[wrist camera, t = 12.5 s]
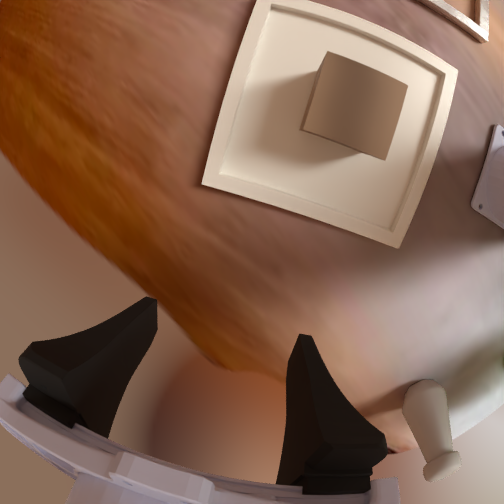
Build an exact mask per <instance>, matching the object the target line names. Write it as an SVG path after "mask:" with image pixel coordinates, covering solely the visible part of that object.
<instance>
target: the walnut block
mask: <svg viewBox="0 0 504 504" xmlns="http://www.w3.org/2000/svg"><path fill="white" fill-rule="evenodd" d="M407 88H408V85H407V84H405V83H403V82H401V81H399V80H397V79H395V78H393V77H391V76H389V75H386V74H384V73H382V72H380V71H378V70H375V69H373V68H371V67H369V66H366V65H364V64H361V63H359V62H357V61H354V60H351V59H349V58H346V57H344V56H341V55H338V54H335V53H332V52H330V51H327V53H326V55H325V57H324V59H323V61H322V63H321V65H320V66H319V68H318V70H317V74H316V77H315V80H314V83H313V87H312V90H311V93H310V96H309V100H308V103H307V106H306V109H305V113H304V116H303V119H302V122H301V125H300V129H299V130H300V131H303V132H306V133H309V134H312V135H315V136H318V137H321V138H324V139H327V140H330V141H332V142H335V143H338V144H340V145H343V146H346V147H348V148H351V149H353V150H356V151H358V152H361V153H364V154H367V155H370V156H372V157H375V158H378V159H381V160H384V161H385V160H386V157H387V155H388V152H389V149H390V146H391V143H392V139H393V136H394V133H395V130H396V127H397V124H398V120H399V117H400V113H401V110H402V107H403V103H404V99H405V96H406V92H407Z"/></svg>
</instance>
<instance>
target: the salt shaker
mask: <svg viewBox="0 0 504 504" xmlns="http://www.w3.org/2000/svg"><path fill="white" fill-rule="evenodd" d="M402 413H403V415H404V417H405V419H406V421H407V423H408V425H409V427H410V429H411V431H412V433H413V435H414V437H415V439H416V441H417V443H418V445H419V447H420V449H421V452H422V454H423V456H424V458H425V460H426V462H427V464H426V465H425V466H424V468H423V475H424V478H425V480H426V481H429V482H435V481H439V480H442V479H444V478H446V477H448V476H450V475H452V474H453V473H455V472H456V471H457V470H458V469H459V468H460V466H461V457H460V454H459V452H458V451H453V447H452V437H451V428H450V420H449V411H448V404H447V397H446V393H445V390H444V389H443V387H442V386H440V385H439V384H438V383H437V382H435V381H434V380H425V379H423V380H421V381H419V382H417V383H416V384H414V385H412V386H410V387H409V389H408V391H407V393H406V394H405V397H404V403H403V408H402Z"/></svg>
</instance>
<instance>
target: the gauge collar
mask: <svg viewBox="0 0 504 504" xmlns="http://www.w3.org/2000/svg"><path fill="white" fill-rule="evenodd" d="M417 1H419V2H421V3H422V4H424V5H426V6H428V7H429V8H431V9H433V10H434V11H436V12H438V13H439V14H441V15H443V16H444V17H446V18H447V19H449V20H450V21H452V22H453V23H455V24H456V25H458V26H459V27H461V28H462V29H463V30H465V31H466V32H468V33H469V34H470V35H472V36H473V37H474V38H476V39H477V40H478V41H479V42H481V43H485V42H488V33H489V0H475V22H473V21H472V20H471V19H469V18H468V17H467V16H465V15H464V14H462V13H461V12H459V11H458V10H457V9H455V8H454V7H452V6H451V5H449V4H447V3H446V2H444V1H443V0H417Z"/></svg>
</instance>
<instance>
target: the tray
mask: <svg viewBox="0 0 504 504" xmlns="http://www.w3.org/2000/svg"><path fill="white" fill-rule="evenodd" d="M327 51H330V52H332V53H335V54H338V55H341V56H344V57H346V58H349V59H351V60H354V61H357V62H359V63H361V64H364V65H366V66H369V67H371V68H373V69H375V70H378V71H380V72H382V73H384V74H386V75H389V76H391V77H393V78H395V79H397V80H399V81H401V82H403V83H405V84H407V85H408V88H407V92H406V96H405V99H404V103H403V107H402V110H401V113H400V117H399V120H398V124H397V127H396V130H395V133H394V136H393V139H392V143H391V146H390V149H389V152H388V155H387V157H386V160H385V161H384V160H381V159H378V158H375V157H372V156H370V155H367V154H364V153H361V152H358V151H356V150H353V149H351V148H348V147H346V146H343V145H340V144H338V143H335V142H332V141H330V140H327V139H324V138H321V137H318V136H315V135H312V134H309V133H306V132H303V131H300V130H299V129H300V125H301V122H302V119H303V116H304V113H305V109H306V106H307V103H308V100H309V96H310V93H311V90H312V87H313V83H314V80H315V77H316V74H317V70H318V68H319V66H320V65H321V63H322V61H323V59H324V57H325V55H326V53H327ZM457 74H458V70H457V69H455V68H454V67H452V66H451V65H449V64H448V63H446V62H445V61H443V60H442V59H440V58H439V57H437V56H435V55H434V54H432V53H431V52H429V51H427V50H425V49H424V48H422V47H420V46H418V45H417V44H415V43H413V42H411V41H409V40H407V39H405V38H404V37H402V36H400V35H398V34H396V33H394V32H391V31H389V30H387V29H385V28H383V27H381V26H378V25H376V24H374V23H372V22H369V21H367V20H364V19H362V18H359V17H357V16H354V15H351V14H349V13H346V12H343V11H340V10H337V9H334V8H331V7H328V6H325V5H322V4H318V3H315V2H311V1H307V0H257V1H256V4H255V6H254V9H253V12H252V15H251V17H250V20H249V23H248V26H247V28H246V31H245V34H244V37H243V40H242V43H241V46H240V49H239V52H238V55H237V58H236V61H235V64H234V67H233V70H232V73H231V77H230V80H229V83H228V86H227V90H226V93H225V96H224V100H223V103H222V107H221V110H220V114H219V117H218V121H217V125H216V128H215V132H214V136H213V140H212V144H211V147H210V151H209V155H208V159H207V163H206V167H205V172H204V176H203V180H202V185H206V186H210V187H213V188H217V189H220V190H224V191H227V192H231V193H234V194H237V195H241V196H244V197H248V198H251V199H254V200H257V201H261V202H264V203H267V204H270V205H274V206H277V207H280V208H283V209H286V210H289V211H292V212H295V213H299V214H302V215H305V216H308V217H311V218H314V219H317V220H319V221H322V222H325V223H328V224H331V225H334V226H337V227H340V228H343V229H345V230H348V231H351V232H354V233H357V234H359V235H362V236H365V237H368V238H370V239H373V240H376V241H378V242H381V243H384V244H386V245H389V246H392V247H394V248H397V249H399V247H400V245H401V243H402V241H403V238H404V236H405V234H406V232H407V230H408V227H409V225H410V223H411V221H412V218H413V216H414V214H415V211H416V209H417V206H418V204H419V201H420V199H421V196H422V194H423V191H424V189H425V186H426V183H427V181H428V178H429V175H430V172H431V170H432V167H433V164H434V161H435V158H436V155H437V152H438V149H439V146H440V142H441V139H442V136H443V132H444V129H445V125H446V122H447V118H448V114H449V110H450V106H451V102H452V98H453V93H454V89H455V84H456V79H457Z"/></svg>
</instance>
